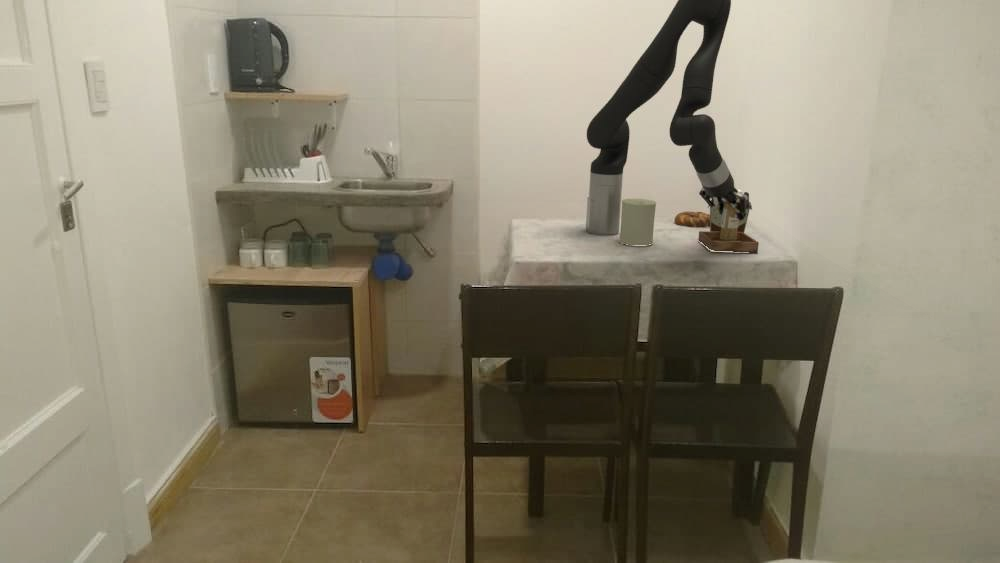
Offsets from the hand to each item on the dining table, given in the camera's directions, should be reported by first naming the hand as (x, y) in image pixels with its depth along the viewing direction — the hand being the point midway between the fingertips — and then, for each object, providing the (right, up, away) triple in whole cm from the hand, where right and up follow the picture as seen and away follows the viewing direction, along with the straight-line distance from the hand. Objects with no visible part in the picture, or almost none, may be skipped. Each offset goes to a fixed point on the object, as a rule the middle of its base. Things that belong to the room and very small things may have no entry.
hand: (734, 216), depth 197 cm
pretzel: (-3, 0, +30) cm, 30 cm away
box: (-2, -8, +1) cm, 9 cm away
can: (-26, -7, +4) cm, 27 cm away
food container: (+3, -4, +18) cm, 18 cm away
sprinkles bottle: (-2, -6, +1) cm, 7 cm away
